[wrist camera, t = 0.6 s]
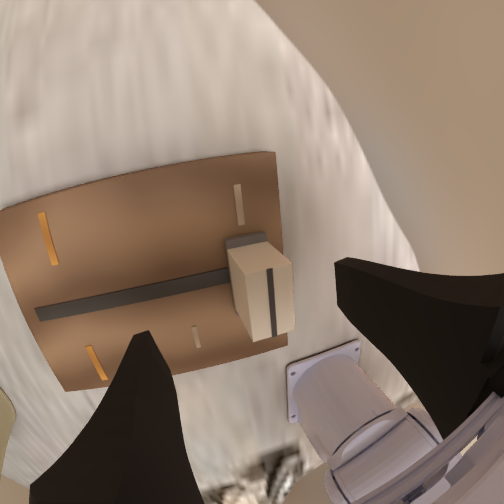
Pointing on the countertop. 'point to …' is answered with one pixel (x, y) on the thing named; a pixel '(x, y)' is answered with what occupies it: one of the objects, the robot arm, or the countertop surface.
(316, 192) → the countertop surface
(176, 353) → the board
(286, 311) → the fader
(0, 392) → the can
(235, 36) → the countertop surface
